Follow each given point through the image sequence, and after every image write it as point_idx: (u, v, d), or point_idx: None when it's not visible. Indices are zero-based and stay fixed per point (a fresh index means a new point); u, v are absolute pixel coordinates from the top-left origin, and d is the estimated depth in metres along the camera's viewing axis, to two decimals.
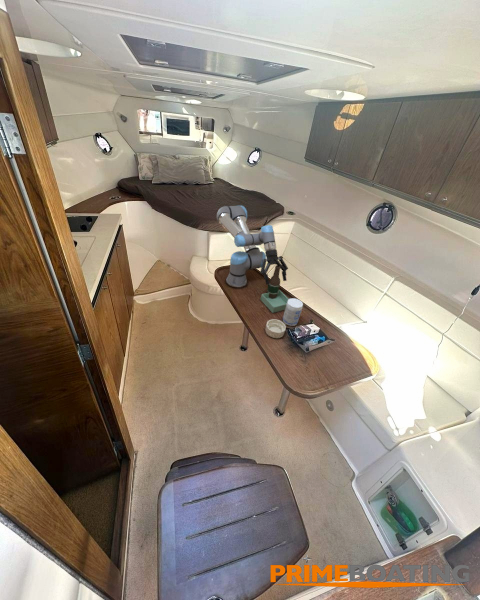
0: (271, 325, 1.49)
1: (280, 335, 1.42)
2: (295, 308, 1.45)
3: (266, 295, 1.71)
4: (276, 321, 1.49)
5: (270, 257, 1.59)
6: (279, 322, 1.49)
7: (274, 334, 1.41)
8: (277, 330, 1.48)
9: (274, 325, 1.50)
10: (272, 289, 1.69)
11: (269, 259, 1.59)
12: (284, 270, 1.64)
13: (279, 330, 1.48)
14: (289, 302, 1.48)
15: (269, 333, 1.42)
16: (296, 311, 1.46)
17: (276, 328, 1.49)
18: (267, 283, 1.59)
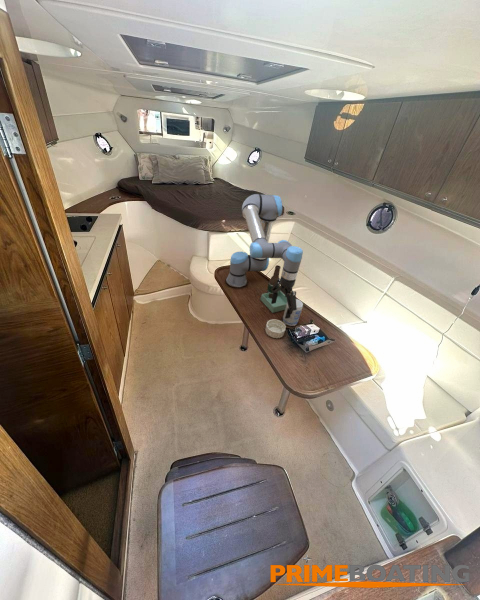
0: (271, 325, 1.49)
1: (280, 335, 1.42)
2: None
3: (266, 295, 1.71)
4: (276, 321, 1.49)
5: None
6: (279, 322, 1.49)
7: (274, 334, 1.41)
8: (277, 330, 1.48)
9: (274, 325, 1.50)
10: None
11: (281, 284, 1.30)
12: None
13: (279, 330, 1.48)
14: None
15: (269, 333, 1.42)
16: (296, 311, 1.46)
17: (276, 328, 1.49)
18: None
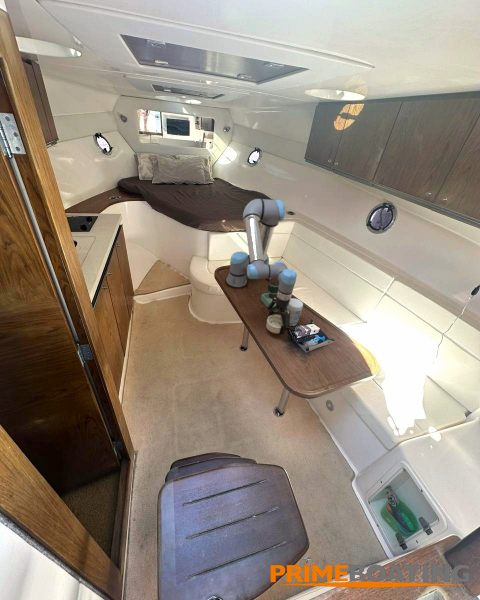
0: (272, 320, 1.47)
1: None
2: (295, 308, 1.45)
3: (266, 295, 1.71)
4: (277, 316, 1.47)
5: None
6: (280, 317, 1.47)
7: (275, 329, 1.39)
8: (278, 325, 1.46)
9: (275, 320, 1.48)
10: (272, 289, 1.69)
11: None
12: None
13: (280, 325, 1.46)
14: (289, 302, 1.47)
15: (270, 328, 1.41)
16: (296, 311, 1.46)
17: (277, 323, 1.47)
18: None
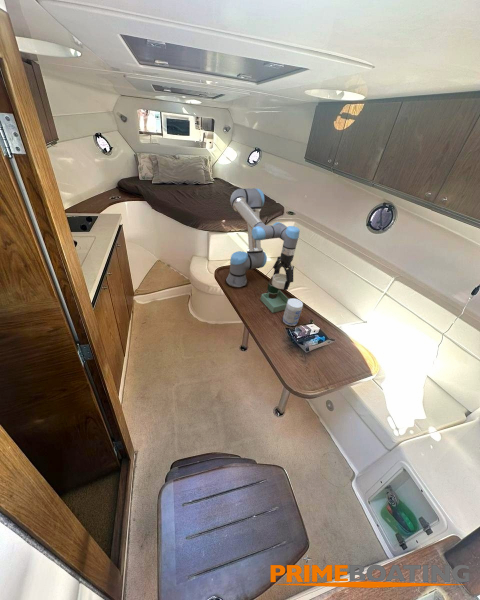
0: (277, 279, 1.61)
1: None
2: (295, 308, 1.45)
3: (266, 295, 1.71)
4: (281, 275, 1.61)
5: None
6: (284, 276, 1.60)
7: (280, 285, 1.53)
8: None
9: (280, 279, 1.62)
10: (272, 289, 1.69)
11: (281, 260, 1.51)
12: (287, 281, 1.50)
13: (284, 283, 1.60)
14: (289, 302, 1.47)
15: (275, 284, 1.54)
16: (296, 311, 1.46)
17: (281, 282, 1.61)
18: None
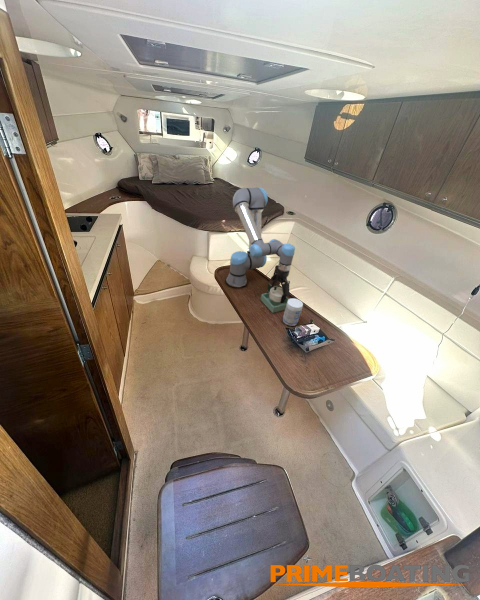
0: (274, 292, 1.69)
1: None
2: (295, 308, 1.45)
3: (266, 295, 1.71)
4: (278, 288, 1.68)
5: None
6: (281, 289, 1.68)
7: (277, 298, 1.60)
8: None
9: (276, 292, 1.69)
10: None
11: (277, 275, 1.59)
12: None
13: None
14: (289, 302, 1.47)
15: (272, 298, 1.62)
16: (296, 311, 1.46)
17: (278, 295, 1.69)
18: None
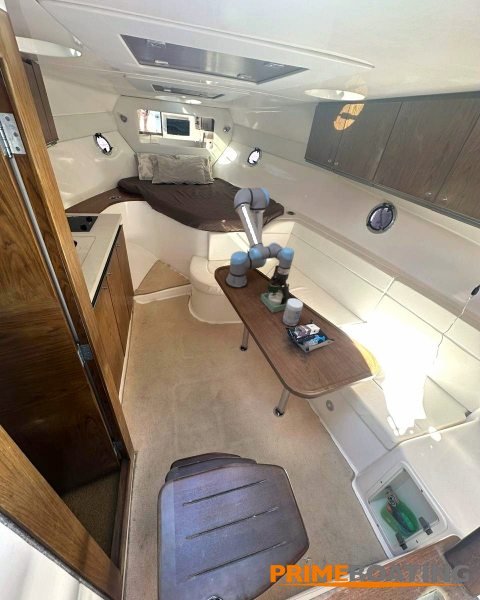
0: (272, 297, 1.71)
1: None
2: (295, 308, 1.45)
3: (266, 295, 1.71)
4: (277, 294, 1.71)
5: None
6: (279, 294, 1.71)
7: (275, 303, 1.63)
8: (278, 301, 1.70)
9: (275, 297, 1.72)
10: (272, 289, 1.69)
11: (277, 278, 1.60)
12: None
13: (279, 301, 1.70)
14: (289, 302, 1.47)
15: (271, 303, 1.65)
16: (296, 311, 1.46)
17: (277, 300, 1.71)
18: None
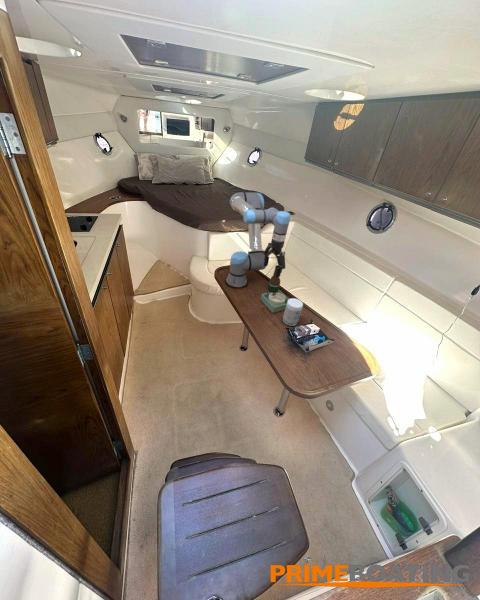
0: (272, 297, 1.71)
1: None
2: (295, 308, 1.45)
3: (266, 295, 1.71)
4: (277, 294, 1.71)
5: None
6: (279, 294, 1.71)
7: (275, 303, 1.63)
8: (278, 301, 1.70)
9: (275, 297, 1.72)
10: (272, 289, 1.69)
11: (272, 246, 1.49)
12: None
13: (279, 301, 1.70)
14: (289, 302, 1.47)
15: (271, 303, 1.65)
16: (296, 311, 1.46)
17: (277, 300, 1.71)
18: None
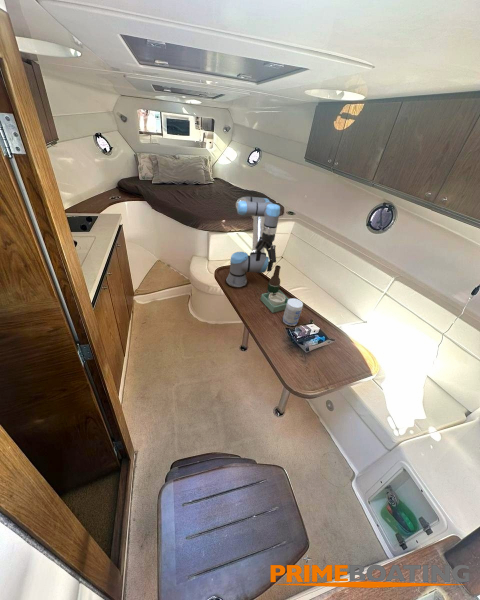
0: (272, 297, 1.71)
1: None
2: (295, 308, 1.45)
3: (266, 295, 1.71)
4: (277, 294, 1.71)
5: (264, 239, 1.46)
6: (279, 294, 1.71)
7: (275, 303, 1.63)
8: (278, 301, 1.70)
9: (275, 297, 1.72)
10: (272, 289, 1.69)
11: (263, 240, 1.48)
12: None
13: (279, 301, 1.70)
14: (289, 302, 1.47)
15: (271, 303, 1.65)
16: (296, 311, 1.46)
17: (277, 300, 1.71)
18: None
